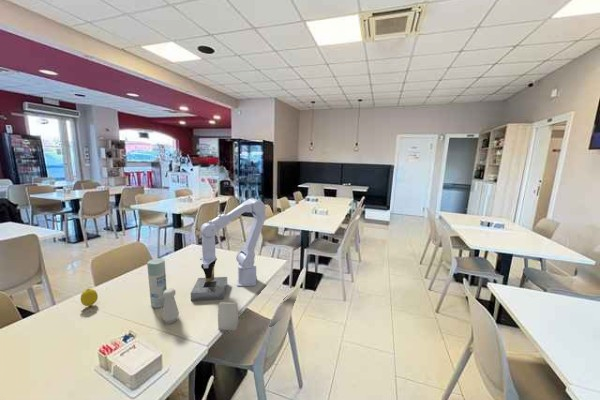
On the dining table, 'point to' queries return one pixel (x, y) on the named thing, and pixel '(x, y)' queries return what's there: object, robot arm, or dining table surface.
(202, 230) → the robot arm
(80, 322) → the dining table surface
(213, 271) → the oak peg
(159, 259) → the spray paint can
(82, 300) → the lemon
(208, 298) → the steel block
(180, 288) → the dining table surface
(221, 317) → the white printed box
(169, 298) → the salt shaker
